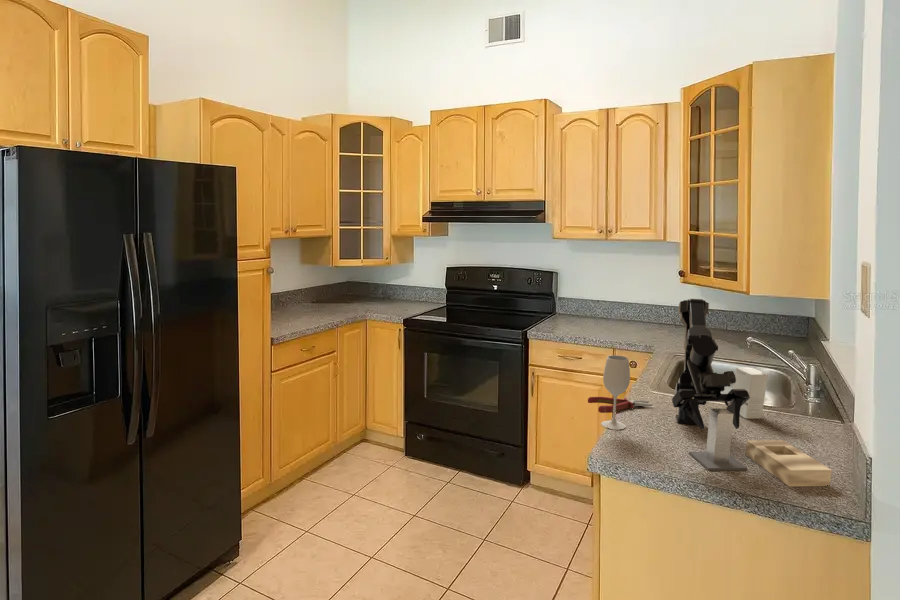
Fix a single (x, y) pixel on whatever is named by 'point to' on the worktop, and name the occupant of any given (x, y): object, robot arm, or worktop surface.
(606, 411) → the pliers
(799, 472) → the wooden block with hole
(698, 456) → the rubber mat
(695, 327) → the robot arm
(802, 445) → the worktop surface
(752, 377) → the skincare box
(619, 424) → the wineglass
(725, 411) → the steel bar
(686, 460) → the worktop surface
